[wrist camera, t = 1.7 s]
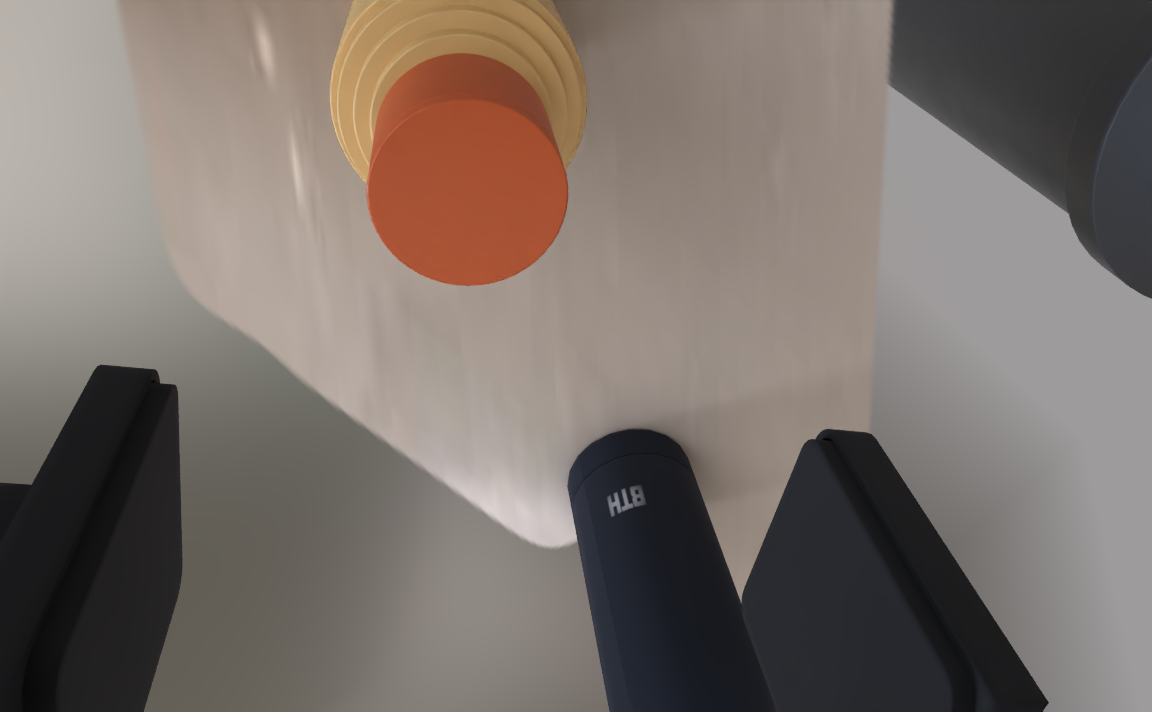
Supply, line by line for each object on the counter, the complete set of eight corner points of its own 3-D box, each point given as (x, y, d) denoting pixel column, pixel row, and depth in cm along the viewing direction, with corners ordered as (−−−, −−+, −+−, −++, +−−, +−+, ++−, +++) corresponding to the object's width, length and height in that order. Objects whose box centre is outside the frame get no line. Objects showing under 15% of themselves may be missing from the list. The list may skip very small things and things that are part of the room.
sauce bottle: (570, 17, 35) (678, 217, 20) (436, 115, 36) (440, 372, 21) (468, -141, 32) (503, -47, 17) (324, -28, 33) (234, 156, 18)
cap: (584, 160, 22) (607, 218, 19) (449, 253, 23) (452, 321, 20) (482, 14, 20) (490, 56, 17) (337, 122, 21) (322, 178, 18)
